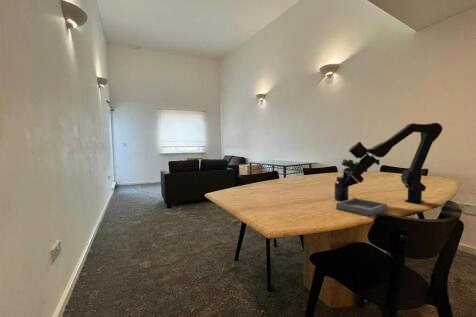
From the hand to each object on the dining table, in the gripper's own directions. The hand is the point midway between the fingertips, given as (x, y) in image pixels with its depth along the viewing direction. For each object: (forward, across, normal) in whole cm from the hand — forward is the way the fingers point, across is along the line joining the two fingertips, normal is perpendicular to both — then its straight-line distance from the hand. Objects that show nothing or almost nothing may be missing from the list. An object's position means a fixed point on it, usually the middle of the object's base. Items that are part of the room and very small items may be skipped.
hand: (340, 185), depth 128 cm
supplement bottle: (+5, 0, +6) cm, 8 cm away
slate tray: (+1, +18, +9) cm, 20 cm away
